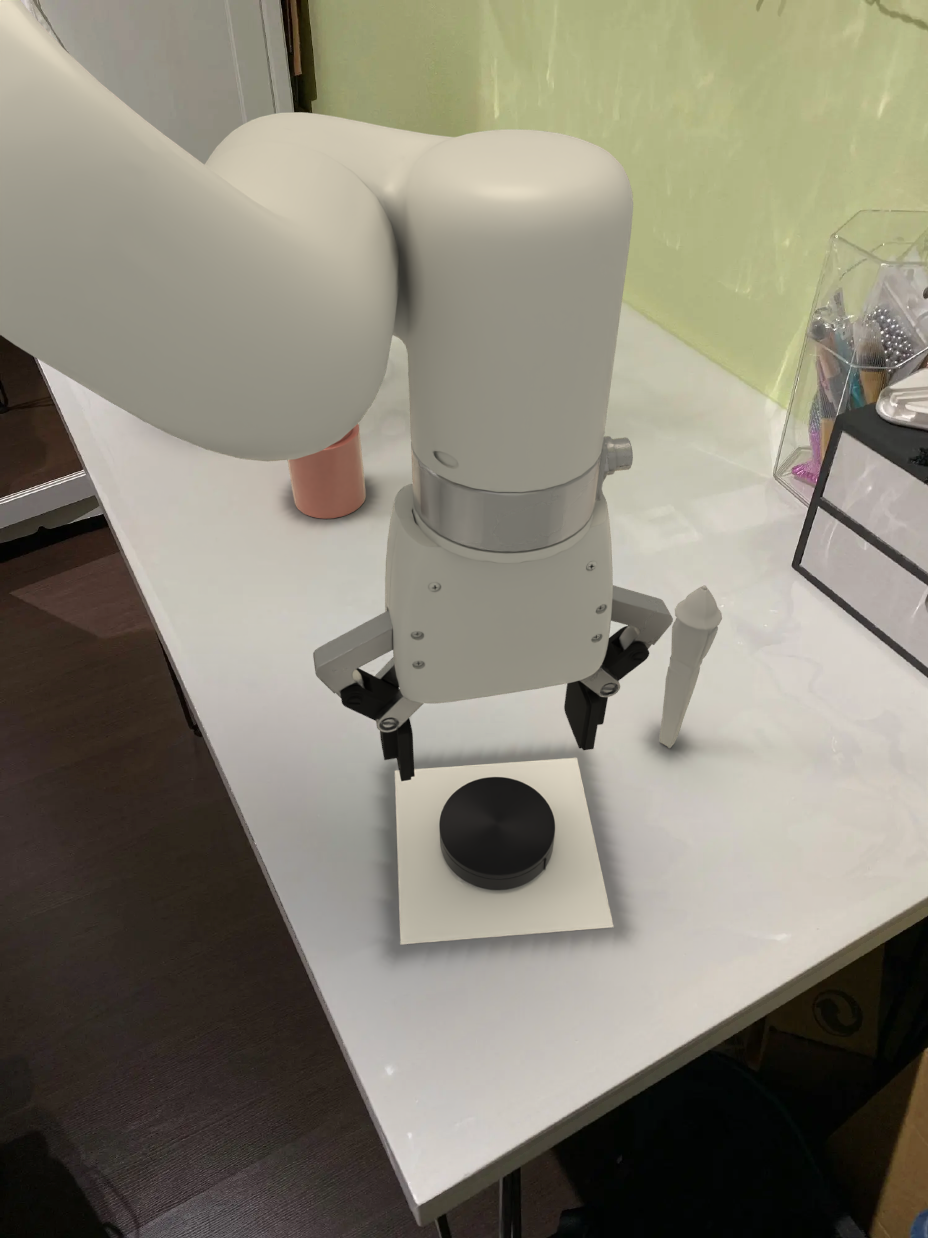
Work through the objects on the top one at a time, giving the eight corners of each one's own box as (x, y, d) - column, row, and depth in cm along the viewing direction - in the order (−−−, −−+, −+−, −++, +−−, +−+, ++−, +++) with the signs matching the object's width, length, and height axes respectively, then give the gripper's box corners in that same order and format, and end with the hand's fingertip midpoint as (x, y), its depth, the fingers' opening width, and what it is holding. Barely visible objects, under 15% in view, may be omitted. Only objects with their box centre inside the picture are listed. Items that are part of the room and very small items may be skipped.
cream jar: (299, 524, 78) (285, 440, 73) (290, 482, 83) (276, 400, 77) (372, 512, 80) (364, 428, 74) (359, 472, 84) (350, 390, 78)
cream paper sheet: (400, 944, 50) (398, 931, 49) (394, 770, 59) (393, 756, 58) (613, 927, 51) (616, 914, 50) (576, 757, 60) (578, 743, 59)
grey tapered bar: (660, 722, 62) (694, 564, 52) (695, 742, 61) (737, 584, 51) (640, 744, 60) (672, 587, 51) (676, 765, 59) (715, 607, 50)
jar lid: (576, 830, 55) (578, 814, 54) (511, 913, 51) (512, 898, 50) (484, 775, 58) (484, 758, 57) (416, 849, 54) (415, 833, 53)
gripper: (670, 409, 41) (621, 670, 53) (283, 451, 38) (323, 717, 50) (742, 506, 36) (669, 773, 47) (297, 563, 33) (338, 831, 44)
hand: (491, 744), depth 49 cm, fingers open, 9 cm apart
